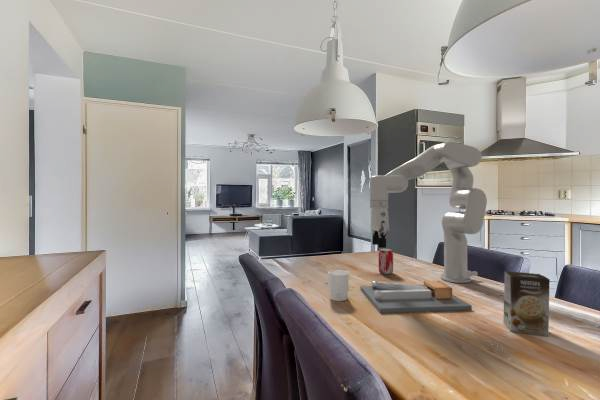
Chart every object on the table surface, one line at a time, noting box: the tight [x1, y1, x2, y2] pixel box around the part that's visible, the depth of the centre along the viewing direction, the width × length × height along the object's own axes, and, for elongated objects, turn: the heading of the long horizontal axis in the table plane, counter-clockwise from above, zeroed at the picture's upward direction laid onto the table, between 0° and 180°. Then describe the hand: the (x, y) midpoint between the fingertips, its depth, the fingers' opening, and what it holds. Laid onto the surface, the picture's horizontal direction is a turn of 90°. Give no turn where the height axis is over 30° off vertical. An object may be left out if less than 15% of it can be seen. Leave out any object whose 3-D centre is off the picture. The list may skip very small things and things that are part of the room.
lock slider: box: [423, 280, 453, 299], centre depth 110 cm, size 6×9×4 cm, turn 4°
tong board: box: [359, 284, 473, 314], centre depth 110 cm, size 32×24×4 cm
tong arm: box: [371, 280, 427, 290], centre depth 115 cm, size 21×3×2 cm, turn 69°
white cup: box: [327, 269, 350, 302], centre depth 111 cm, size 8×8×10 cm
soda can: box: [378, 247, 394, 275], centre depth 147 cm, size 7×7×12 cm
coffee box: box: [503, 270, 551, 337], centre depth 85 cm, size 9×6×16 cm
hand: (379, 245), depth 125 cm, fingers open, 6 cm apart
